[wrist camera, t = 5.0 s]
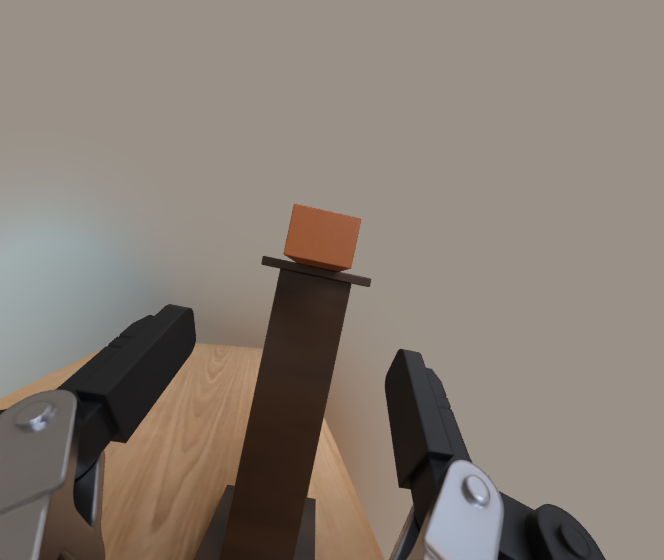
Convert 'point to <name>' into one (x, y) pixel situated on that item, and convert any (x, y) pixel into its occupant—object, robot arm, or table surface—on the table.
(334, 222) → the lever bar
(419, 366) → the robot arm
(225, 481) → the table surface
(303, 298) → the pedestal
